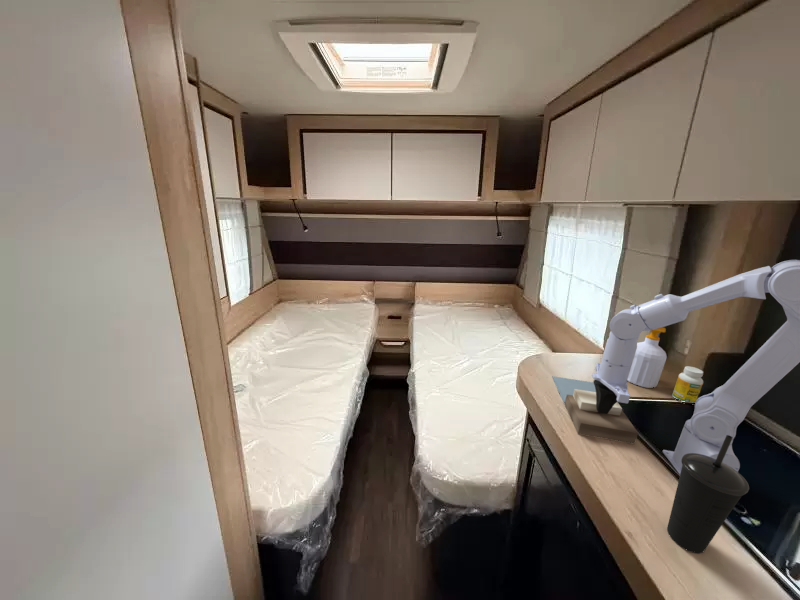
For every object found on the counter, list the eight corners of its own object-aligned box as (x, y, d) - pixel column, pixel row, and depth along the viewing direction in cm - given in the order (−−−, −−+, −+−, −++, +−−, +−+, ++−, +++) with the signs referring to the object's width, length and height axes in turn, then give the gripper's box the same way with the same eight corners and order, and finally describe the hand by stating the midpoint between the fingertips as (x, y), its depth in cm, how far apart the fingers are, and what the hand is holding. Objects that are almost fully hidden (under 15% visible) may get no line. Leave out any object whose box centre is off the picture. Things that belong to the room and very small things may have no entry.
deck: (634, 444, 76) (638, 432, 75) (577, 433, 78) (580, 423, 77) (613, 412, 87) (616, 402, 87) (564, 404, 90) (566, 394, 89)
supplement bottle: (682, 394, 99) (693, 364, 96) (700, 405, 94) (712, 374, 91) (666, 394, 98) (677, 364, 95) (683, 405, 93) (695, 374, 90)
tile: (619, 415, 81) (622, 408, 81) (580, 409, 83) (581, 402, 82) (610, 401, 87) (612, 394, 86) (572, 395, 88) (574, 388, 88)
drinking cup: (691, 519, 58) (733, 422, 52) (729, 565, 51) (783, 459, 45) (646, 514, 59) (683, 417, 53) (677, 559, 52) (724, 453, 45)
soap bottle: (656, 392, 99) (683, 313, 91) (620, 380, 104) (643, 305, 96) (657, 380, 106) (682, 306, 98) (623, 370, 111) (644, 299, 103)
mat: (612, 411, 88) (612, 410, 88) (563, 403, 90) (564, 402, 90) (594, 383, 101) (594, 382, 101) (552, 376, 103) (552, 376, 103)
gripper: (587, 345, 84) (575, 392, 88) (610, 373, 70) (594, 428, 75) (618, 349, 83) (604, 397, 87) (647, 379, 69) (629, 434, 73)
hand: (601, 411), depth 81 cm, fingers closed
